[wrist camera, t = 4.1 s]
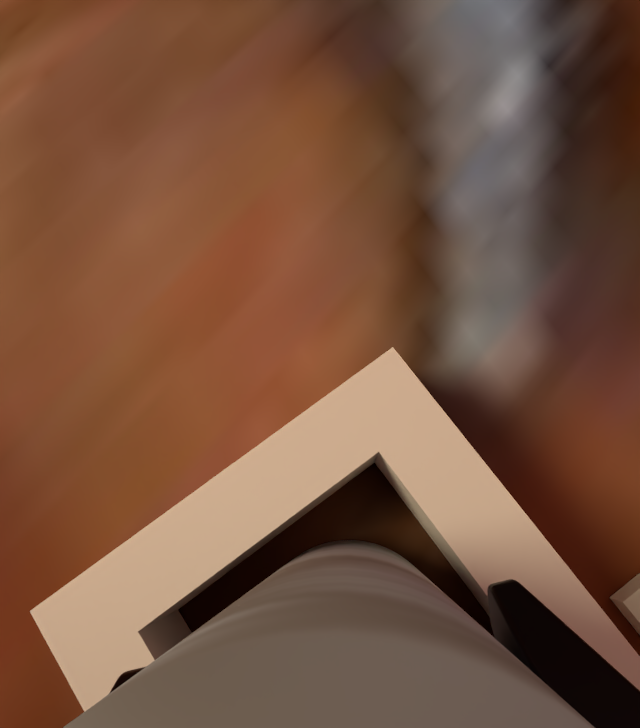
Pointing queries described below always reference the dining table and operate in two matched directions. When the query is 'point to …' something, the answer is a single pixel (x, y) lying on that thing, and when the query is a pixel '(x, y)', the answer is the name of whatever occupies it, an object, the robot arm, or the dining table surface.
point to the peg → (337, 658)
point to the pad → (629, 601)
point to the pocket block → (292, 501)
